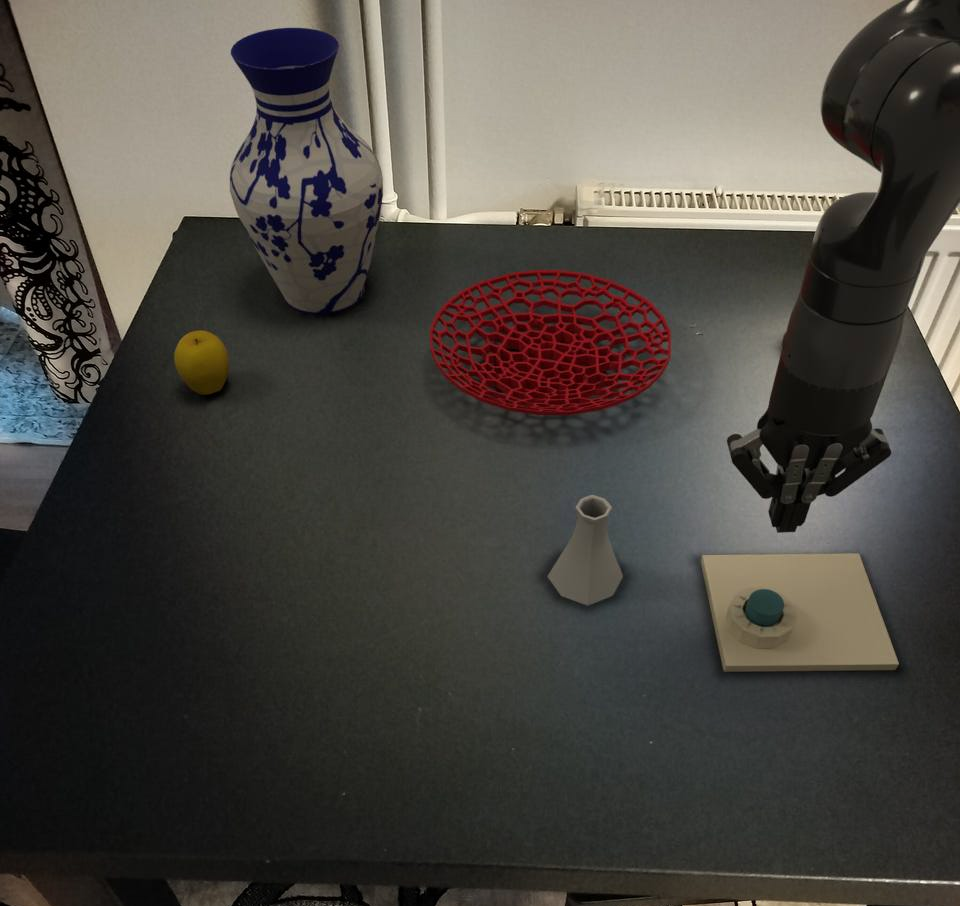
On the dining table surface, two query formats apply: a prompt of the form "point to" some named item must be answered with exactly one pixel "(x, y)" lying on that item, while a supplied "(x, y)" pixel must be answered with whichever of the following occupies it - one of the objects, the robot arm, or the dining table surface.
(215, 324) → the dining table surface
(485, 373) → the bowl
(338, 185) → the vase
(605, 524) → the flask
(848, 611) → the scale
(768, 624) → the tare button
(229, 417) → the dining table surface
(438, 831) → the dining table surface
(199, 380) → the apple
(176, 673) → the dining table surface
